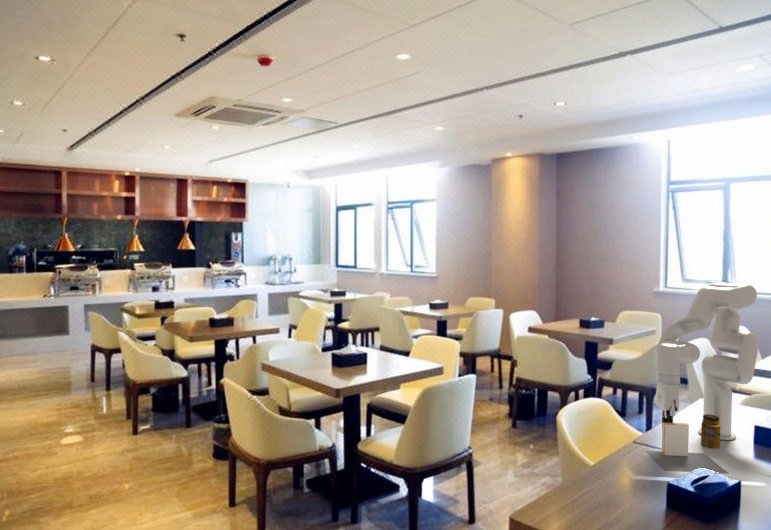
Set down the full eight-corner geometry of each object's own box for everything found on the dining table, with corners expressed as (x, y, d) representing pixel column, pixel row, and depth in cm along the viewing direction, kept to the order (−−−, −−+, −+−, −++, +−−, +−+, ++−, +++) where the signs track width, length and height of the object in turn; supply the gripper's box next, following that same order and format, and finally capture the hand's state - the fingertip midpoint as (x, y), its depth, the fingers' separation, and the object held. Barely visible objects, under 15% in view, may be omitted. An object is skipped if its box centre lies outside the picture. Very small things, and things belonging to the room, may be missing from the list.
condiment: (724, 449, 205) (725, 417, 204) (713, 454, 200) (713, 420, 199) (704, 443, 211) (705, 412, 210) (692, 447, 206) (693, 415, 206)
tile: (661, 453, 198) (662, 422, 197) (685, 454, 197) (686, 423, 196) (664, 455, 195) (664, 424, 195) (688, 456, 194) (689, 425, 194)
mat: (644, 453, 200) (645, 450, 200) (704, 455, 198) (704, 453, 198) (664, 473, 182) (664, 470, 182) (729, 476, 180) (729, 473, 180)
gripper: (650, 373, 210) (649, 421, 211) (665, 382, 195) (664, 434, 196) (671, 373, 209) (670, 422, 210) (688, 383, 194) (686, 435, 195)
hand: (667, 428), depth 203 cm, fingers closed
